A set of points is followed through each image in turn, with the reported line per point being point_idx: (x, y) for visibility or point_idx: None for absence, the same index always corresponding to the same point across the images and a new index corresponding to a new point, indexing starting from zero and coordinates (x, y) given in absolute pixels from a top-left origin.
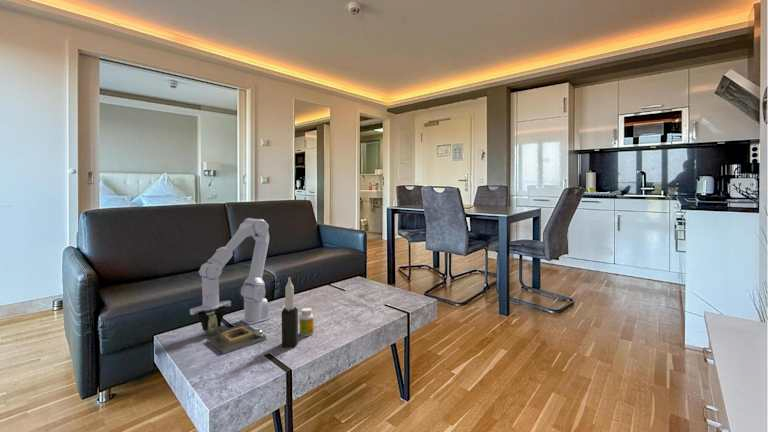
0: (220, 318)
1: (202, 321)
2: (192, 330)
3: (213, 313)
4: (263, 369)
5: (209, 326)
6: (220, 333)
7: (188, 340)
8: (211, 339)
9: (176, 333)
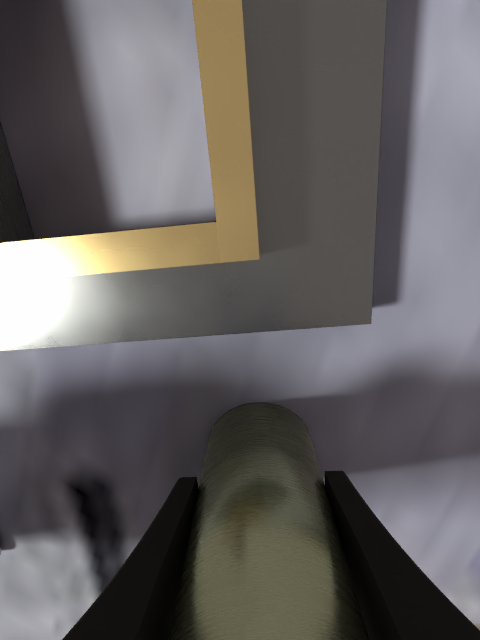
0: (145, 579)
1: (457, 609)
2: None
3: None
4: None
5: (308, 494)
6: (250, 235)
7: (449, 442)
8: (353, 242)
9: None
